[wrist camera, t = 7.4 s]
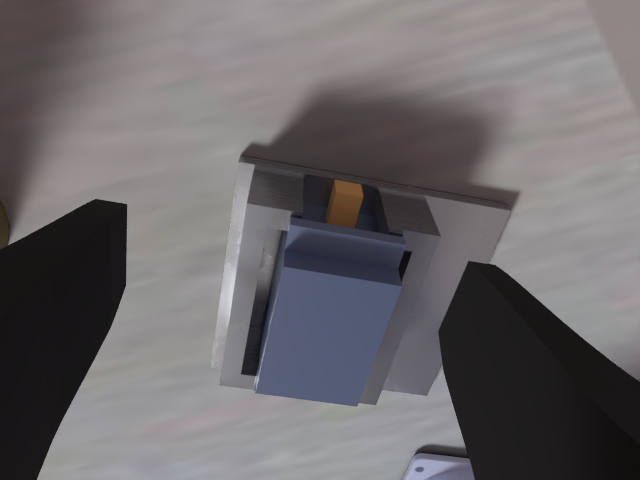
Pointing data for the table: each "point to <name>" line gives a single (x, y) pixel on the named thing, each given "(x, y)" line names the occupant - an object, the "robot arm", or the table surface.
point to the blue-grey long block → (328, 302)
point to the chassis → (392, 218)
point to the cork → (3, 228)
